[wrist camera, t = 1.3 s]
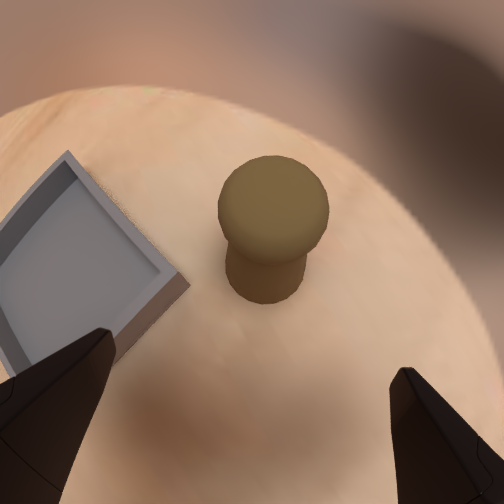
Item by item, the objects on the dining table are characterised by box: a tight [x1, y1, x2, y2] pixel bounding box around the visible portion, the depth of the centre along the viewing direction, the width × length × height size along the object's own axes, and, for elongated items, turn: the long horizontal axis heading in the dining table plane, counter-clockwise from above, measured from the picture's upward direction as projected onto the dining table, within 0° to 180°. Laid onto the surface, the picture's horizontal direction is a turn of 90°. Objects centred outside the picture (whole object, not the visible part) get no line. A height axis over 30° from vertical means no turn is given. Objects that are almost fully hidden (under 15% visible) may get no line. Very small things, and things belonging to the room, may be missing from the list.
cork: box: [218, 156, 329, 304], centre depth 18 cm, size 6×6×11 cm
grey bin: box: [0, 150, 190, 378], centre depth 20 cm, size 16×16×4 cm
